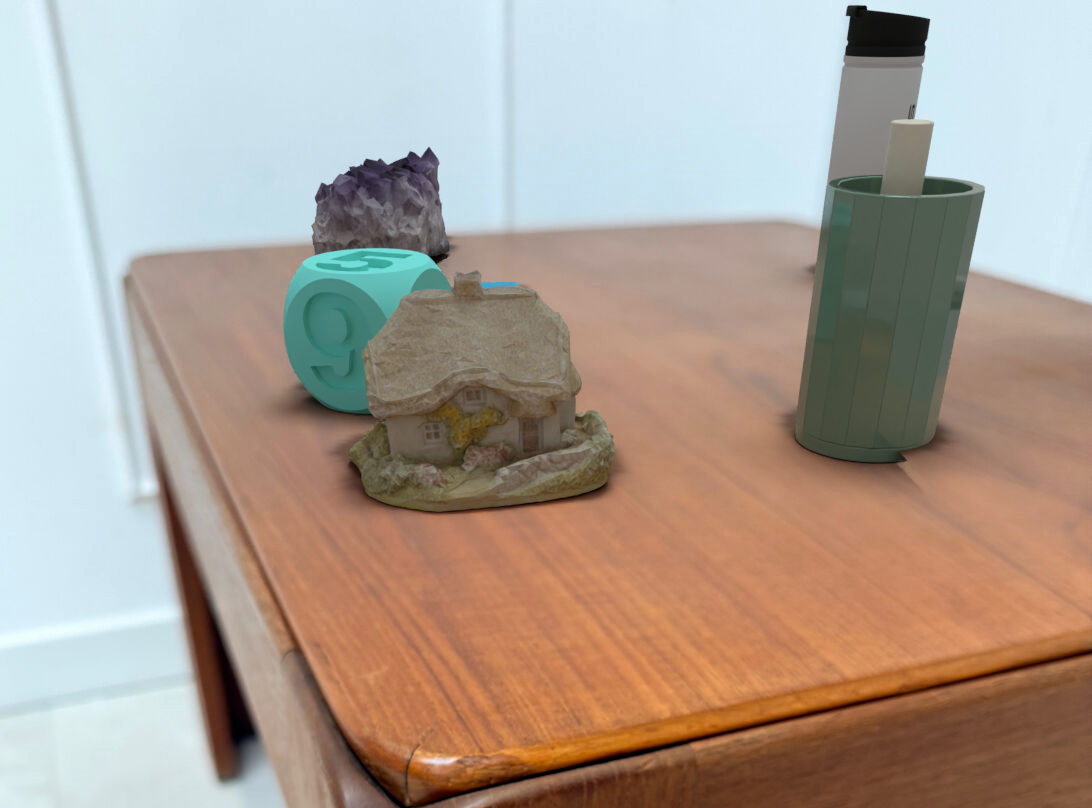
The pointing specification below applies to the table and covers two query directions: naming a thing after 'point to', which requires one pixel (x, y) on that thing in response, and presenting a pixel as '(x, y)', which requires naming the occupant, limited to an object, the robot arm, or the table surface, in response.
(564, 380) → the ceramic model
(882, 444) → the green pencil cup
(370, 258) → the decorative dice
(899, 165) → the marker
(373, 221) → the geode
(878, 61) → the travel mug
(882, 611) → the table surface
